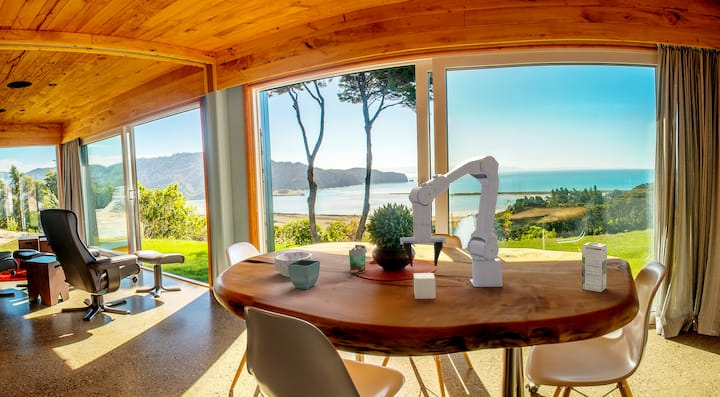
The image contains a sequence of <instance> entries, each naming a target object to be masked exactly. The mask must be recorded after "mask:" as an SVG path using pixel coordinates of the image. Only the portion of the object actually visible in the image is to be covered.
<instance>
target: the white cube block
mask: <svg viewBox="0 0 720 397" xmlns="http://www.w3.org/2000/svg"><path fill="white" fill-rule="evenodd" d="M436 292H437V291H436V277H435V274H434V272H419V273H417V272H414V273H413V293H414V299H415V300H416V299H418V300H420V299H421V300H423V299H426V300H427V299H435V300H436V298H437V296H436Z"/></svg>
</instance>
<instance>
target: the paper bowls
mask: <svg viewBox="0 0 720 397" xmlns="http://www.w3.org/2000/svg"><path fill="white" fill-rule="evenodd" d="M298 260H313V254H312V253H311V252H307V251H292V252H285V253H281V254H278V255H276V256H275V257H274V263H275V264H274V268H275V271H278V272H280V274H281V275H282V276H283V277H286V278H290V276H289V271H288V264H290V263H293V262H296V261H298Z"/></svg>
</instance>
